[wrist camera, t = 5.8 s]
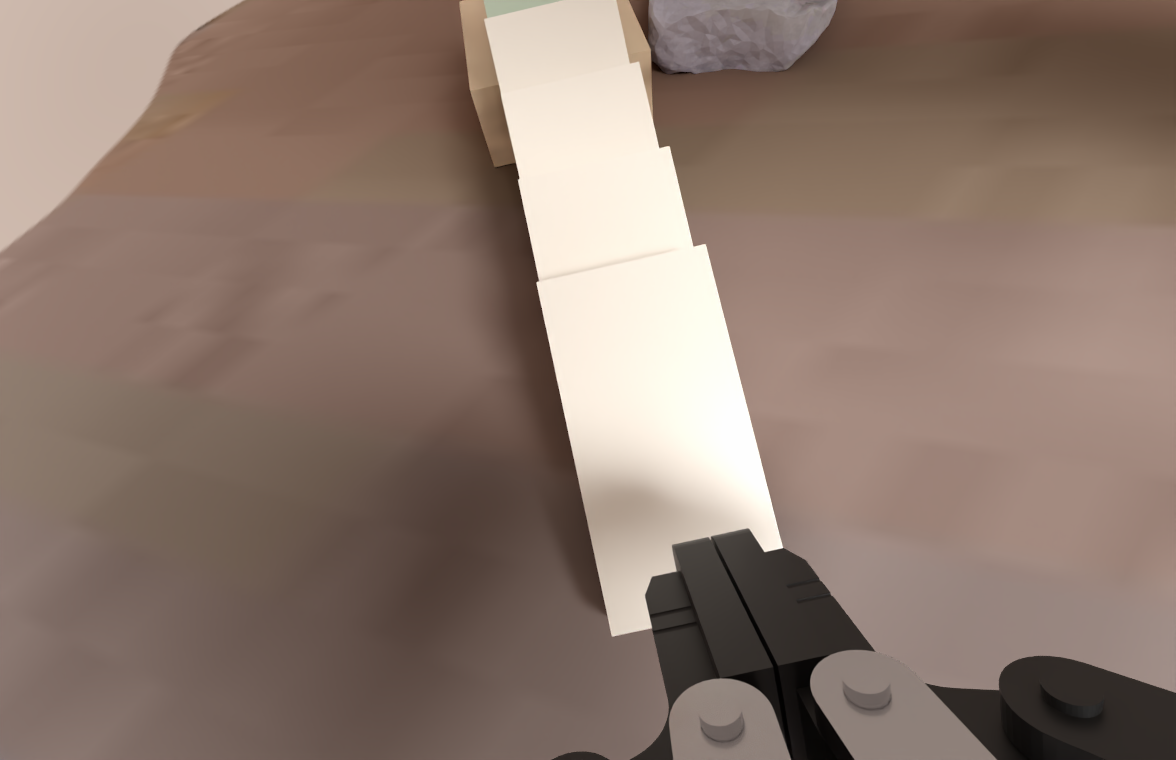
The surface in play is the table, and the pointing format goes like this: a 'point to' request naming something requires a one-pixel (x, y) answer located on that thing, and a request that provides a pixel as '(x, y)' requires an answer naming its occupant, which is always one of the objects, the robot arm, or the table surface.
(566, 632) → the table surface
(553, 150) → the domino
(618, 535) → the domino
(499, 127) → the stop block
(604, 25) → the domino
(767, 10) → the stone block
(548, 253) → the domino
